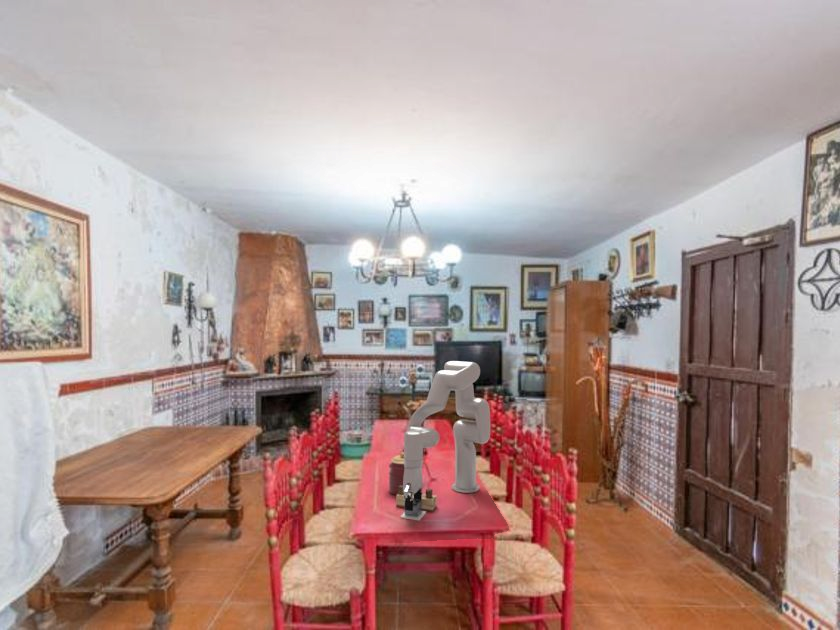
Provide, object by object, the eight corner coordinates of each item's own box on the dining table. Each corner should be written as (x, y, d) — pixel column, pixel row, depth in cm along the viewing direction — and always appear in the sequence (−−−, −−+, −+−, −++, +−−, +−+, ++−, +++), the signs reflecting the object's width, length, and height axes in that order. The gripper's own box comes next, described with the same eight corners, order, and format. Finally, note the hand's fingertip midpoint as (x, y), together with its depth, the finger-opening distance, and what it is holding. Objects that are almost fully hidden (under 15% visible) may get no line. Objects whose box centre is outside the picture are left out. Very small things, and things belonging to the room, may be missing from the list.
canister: (413, 497, 205) (413, 457, 205) (385, 495, 207) (385, 455, 208) (419, 487, 217) (419, 449, 218) (392, 485, 220) (392, 447, 220)
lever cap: (409, 510, 189) (409, 496, 189) (422, 512, 187) (422, 497, 187) (404, 515, 184) (404, 500, 184) (417, 517, 182) (417, 502, 182)
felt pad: (407, 510, 191) (407, 508, 191) (426, 512, 188) (426, 511, 188) (400, 517, 183) (400, 516, 183) (419, 520, 180) (419, 519, 180)
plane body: (401, 501, 200) (401, 483, 200) (436, 506, 194) (436, 488, 195) (396, 506, 195) (396, 488, 195) (432, 511, 189) (432, 492, 189)
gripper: (412, 455, 195) (412, 496, 195) (396, 467, 179) (396, 512, 179) (429, 457, 193) (429, 499, 192) (414, 469, 177) (414, 515, 176)
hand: (413, 505), depth 186 cm, fingers open, 9 cm apart
